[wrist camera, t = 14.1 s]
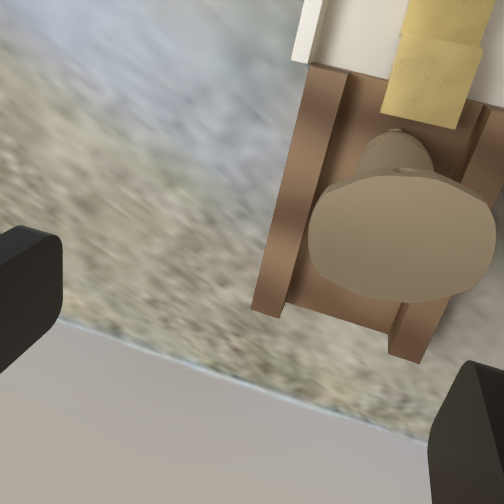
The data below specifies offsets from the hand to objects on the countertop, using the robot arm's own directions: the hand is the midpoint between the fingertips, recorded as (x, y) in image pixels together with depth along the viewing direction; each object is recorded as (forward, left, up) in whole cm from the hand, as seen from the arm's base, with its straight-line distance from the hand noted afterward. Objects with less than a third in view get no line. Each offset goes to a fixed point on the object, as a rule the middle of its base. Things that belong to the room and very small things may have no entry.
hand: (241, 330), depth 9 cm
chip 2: (-4, +4, -24) cm, 25 cm away
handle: (+1, +4, -24) cm, 24 cm away
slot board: (+5, +4, -26) cm, 27 cm away
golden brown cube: (-8, +4, -25) cm, 27 cm away
